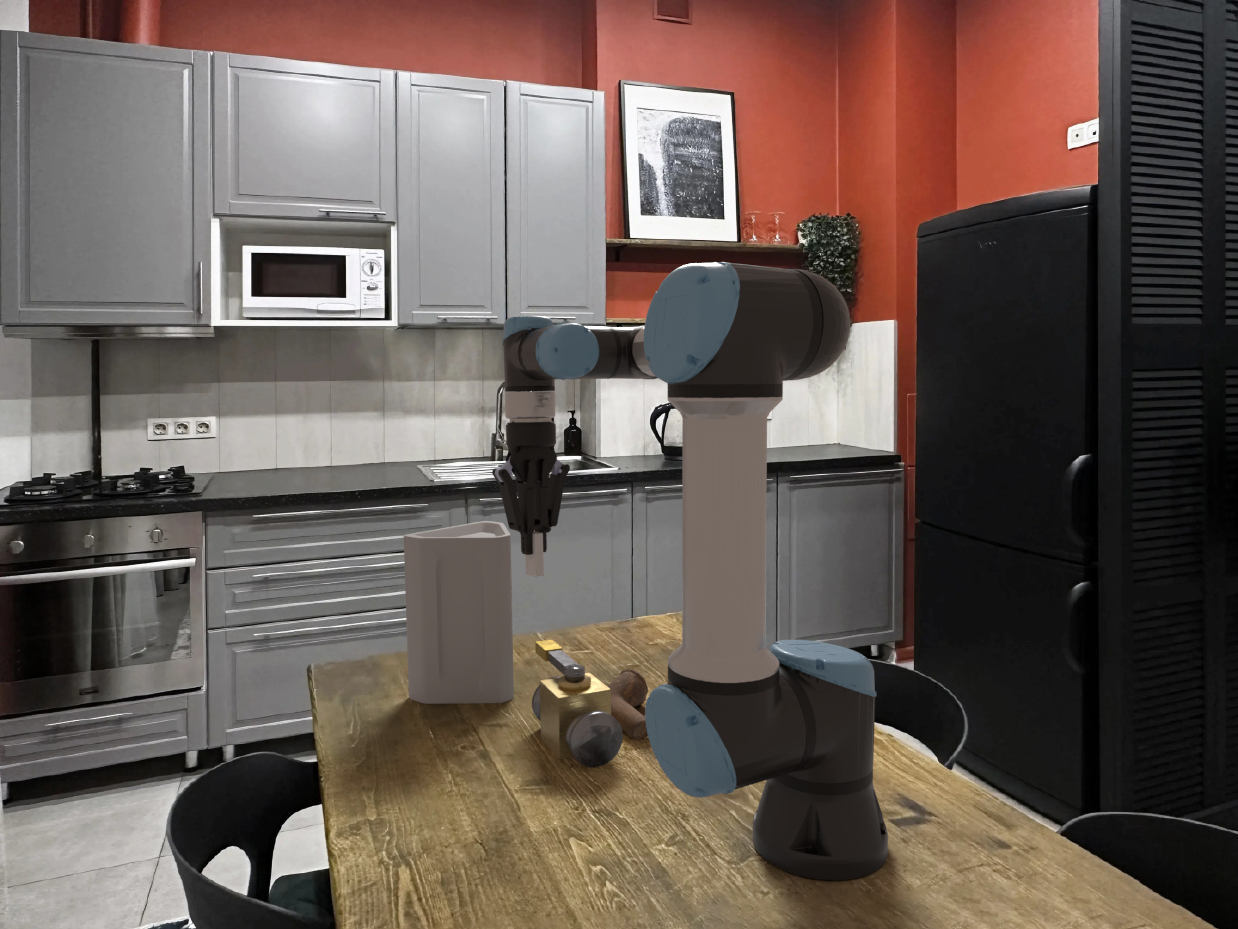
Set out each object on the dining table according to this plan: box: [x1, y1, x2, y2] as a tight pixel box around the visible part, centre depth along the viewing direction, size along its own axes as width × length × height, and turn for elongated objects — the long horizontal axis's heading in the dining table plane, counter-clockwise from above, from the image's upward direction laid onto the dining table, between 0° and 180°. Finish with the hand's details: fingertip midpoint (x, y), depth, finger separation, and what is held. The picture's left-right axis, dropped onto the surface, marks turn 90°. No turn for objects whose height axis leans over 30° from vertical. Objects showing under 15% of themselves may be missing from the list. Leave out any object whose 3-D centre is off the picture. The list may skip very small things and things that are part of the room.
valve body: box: [531, 672, 624, 768], centre depth 127 cm, size 17×8×10 cm, turn 25°
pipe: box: [606, 668, 649, 741], centre depth 137 cm, size 6×17×10 cm
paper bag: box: [403, 520, 515, 705], centre depth 149 cm, size 19×15×28 cm
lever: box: [534, 639, 586, 682], centre depth 132 cm, size 16×3×2 cm, turn 24°
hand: (534, 574), depth 132 cm, fingers closed
